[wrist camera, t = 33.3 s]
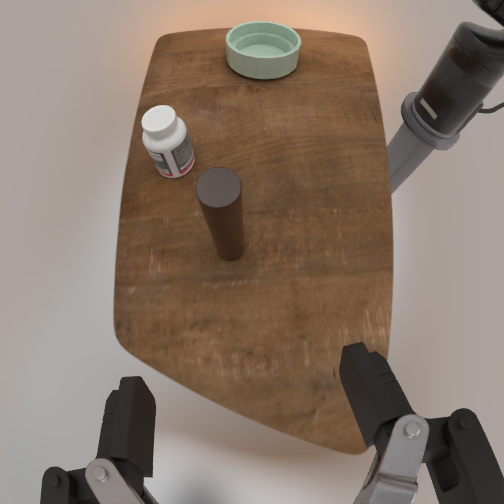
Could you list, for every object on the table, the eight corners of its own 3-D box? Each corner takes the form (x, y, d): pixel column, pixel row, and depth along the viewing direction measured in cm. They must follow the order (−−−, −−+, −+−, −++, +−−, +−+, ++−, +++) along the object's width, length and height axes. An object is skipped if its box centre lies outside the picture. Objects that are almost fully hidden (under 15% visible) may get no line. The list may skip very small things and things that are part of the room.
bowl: (294, 44, 46) (297, 23, 40) (300, 84, 43) (304, 60, 37) (229, 43, 46) (228, 21, 40) (225, 82, 43) (223, 57, 37)
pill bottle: (190, 141, 39) (177, 95, 30) (199, 171, 38) (186, 126, 29) (153, 153, 39) (132, 110, 29) (161, 184, 38) (138, 143, 28)
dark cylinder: (244, 235, 36) (242, 166, 21) (244, 261, 35) (240, 207, 20) (218, 235, 36) (197, 166, 21) (216, 261, 35) (193, 207, 20)
